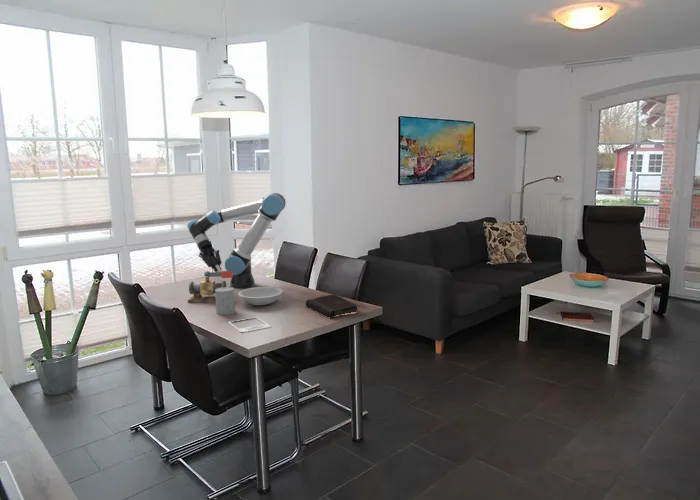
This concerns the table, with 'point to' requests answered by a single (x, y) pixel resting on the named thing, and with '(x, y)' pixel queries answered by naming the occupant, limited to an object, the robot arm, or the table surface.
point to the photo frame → (252, 326)
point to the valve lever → (219, 274)
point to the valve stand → (204, 290)
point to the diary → (331, 305)
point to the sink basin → (260, 295)
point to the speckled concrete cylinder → (225, 300)
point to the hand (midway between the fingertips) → (220, 275)
